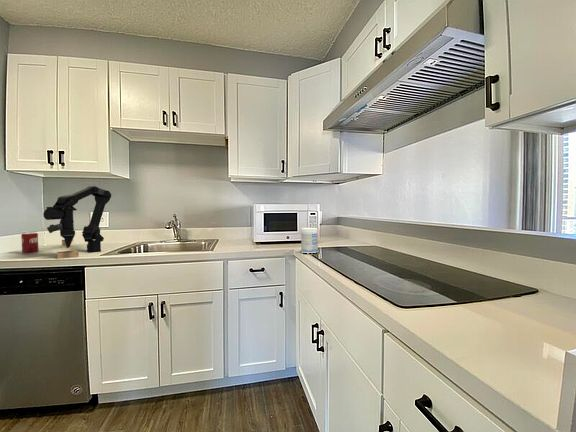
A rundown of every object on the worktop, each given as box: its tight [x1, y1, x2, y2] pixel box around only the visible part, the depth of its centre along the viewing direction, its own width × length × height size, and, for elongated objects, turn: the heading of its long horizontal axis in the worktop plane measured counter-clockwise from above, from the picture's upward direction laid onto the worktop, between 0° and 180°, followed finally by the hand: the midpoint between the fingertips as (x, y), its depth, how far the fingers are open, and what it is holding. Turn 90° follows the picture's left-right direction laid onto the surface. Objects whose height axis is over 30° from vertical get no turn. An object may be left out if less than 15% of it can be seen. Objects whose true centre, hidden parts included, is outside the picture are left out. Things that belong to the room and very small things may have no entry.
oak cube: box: [61, 239, 75, 251], centre depth 154 cm, size 5×5×5 cm
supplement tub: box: [300, 227, 319, 254], centre depth 162 cm, size 10×10×15 cm
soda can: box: [20, 232, 40, 255], centre depth 166 cm, size 7×7×12 cm
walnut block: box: [57, 249, 80, 260], centre depth 154 cm, size 9×9×3 cm
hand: (67, 246), depth 154 cm, fingers closed on oak cube, 5 cm apart
